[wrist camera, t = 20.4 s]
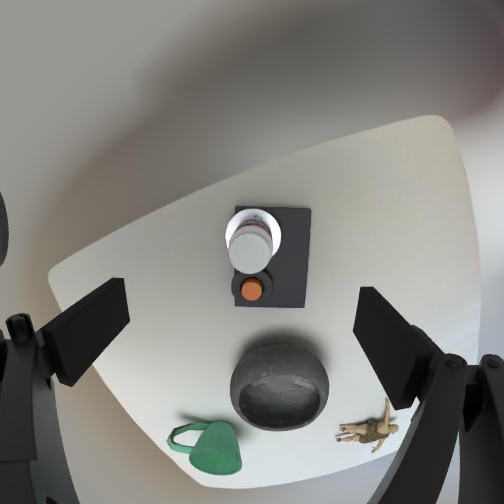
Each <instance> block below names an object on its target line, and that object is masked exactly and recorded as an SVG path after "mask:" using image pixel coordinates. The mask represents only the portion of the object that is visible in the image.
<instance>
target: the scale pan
mask: <svg viewBox="0 0 504 504" xmlns="http://www.w3.org/2000/svg"><path fill="white" fill-rule="evenodd" d="M249 219H257V220H260V221H262V222H264V223H265V224H267V225H268V227H269V228H270V230H271V232H272V237H273V246H274V249H273V254H272V256H273V255H274V254H275V253H276V252H277V250H278V248H279V246H280V242H281V231H280V227H279V224H278V223H277V221H276V220H275V218H274V217H273V216H272V215H271V214H269V213H268V212H266V211H264V210H261V209H256V208H251V209H245V210H243V211H240V212H239V213H237V214H236V215H235V216H234V217H232V219H231V220H230V221H229V223H228V225H227V228H226V232H225V240H226V244H227V247H228V246H229V241H230V238H231V236H232V235H233V233H234V232H235V230H236V229H237V227H238V226H239V225H240V224H241V223H242V222H244V221H246V220H249Z"/></svg>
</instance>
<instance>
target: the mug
mask: <svg viewBox="0 0 504 504" xmlns="http://www.w3.org/2000/svg"><path fill="white" fill-rule="evenodd" d="M188 430H205V431H204V432H203V433H202V435H201V436H200V437H199V439H198V441H197V443H196V445H195V446H194V447H192V446H185V445H181V444H178V443H176V442H174V441H173V439H174V436H176V435H178V434H181V433H183V432H185V431H188ZM166 441H167V443H168V445H169V447H170V448H171V449H172V450H174V451H177V452H181V453H187V454H190V455H189V461H190V463H191V464H192V465H193V466H194V467H195V468H197V469H198V470H200V471H203V472H205V473H208V474H213V475H231V474H234V473H237V472H238V471H240V470H241V467H242V460H241V456H240V450H239V444H238V441H237V437H236V434H235V432H234V429H233V427H232V426H231V425H230V424H229V423H227V422H224V421H214V422H212V423H211V424H206V423H190V424H186V425H183V426H180V427H177V428H174V429H173V431H172V432H171V434H170V435H169V437H168V439H167V440H166Z"/></svg>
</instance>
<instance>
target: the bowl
mask: <svg viewBox="0 0 504 504" xmlns="http://www.w3.org/2000/svg"><path fill="white" fill-rule="evenodd" d="M328 395H329V380H328V376H327V373H326V370H325V368H324V367H323V365H322V363H321V362H320V361H319V360H318V358H317V357H316V356H314V355H313V354H312V353H311V352H309V351H308V350H306V349H304V348H302V347H299V346H294V345H289V344H275V345H267V346H264V347H260V348H257V349H255V350H253V351H251V352H249V353H248V354H247V355H245V356H244V357H243V358H242V359H241V360H240V361H239V363H238V364H237V366H236V368H235V369H234V372H233V374H232V378H231V382H230V397H231V402H232V405H233V407H234V409H235V411H236V412H237V413H238V415H239V416H240V417H241V418H242V419H243V420H244V421H246V422H247V423H249V424H250V425H252V426H254V427H256V428H259V429H262V430H267V431H288V430H294V429H298V428H302V427H304V426H307V425H308V424H310V423H311V422H312V421H314V420H315V419H316V418H317V417H318V416H319V414H320V413H321V412H322V411H323V409H324V407H325V405H326V403H327V400H328Z"/></svg>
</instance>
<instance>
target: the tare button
mask: <svg viewBox="0 0 504 504" xmlns="http://www.w3.org/2000/svg"><path fill="white" fill-rule="evenodd" d="M261 293H262V285H261V283H260V281H258V280H257V279H254V278H250V279H247V280H246V281H245V282H244V283H243V286H242V295H243V296H244V298H246V299H247V300H251V301H252V300H256V299H258V298H259V297H260V296H261Z"/></svg>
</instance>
